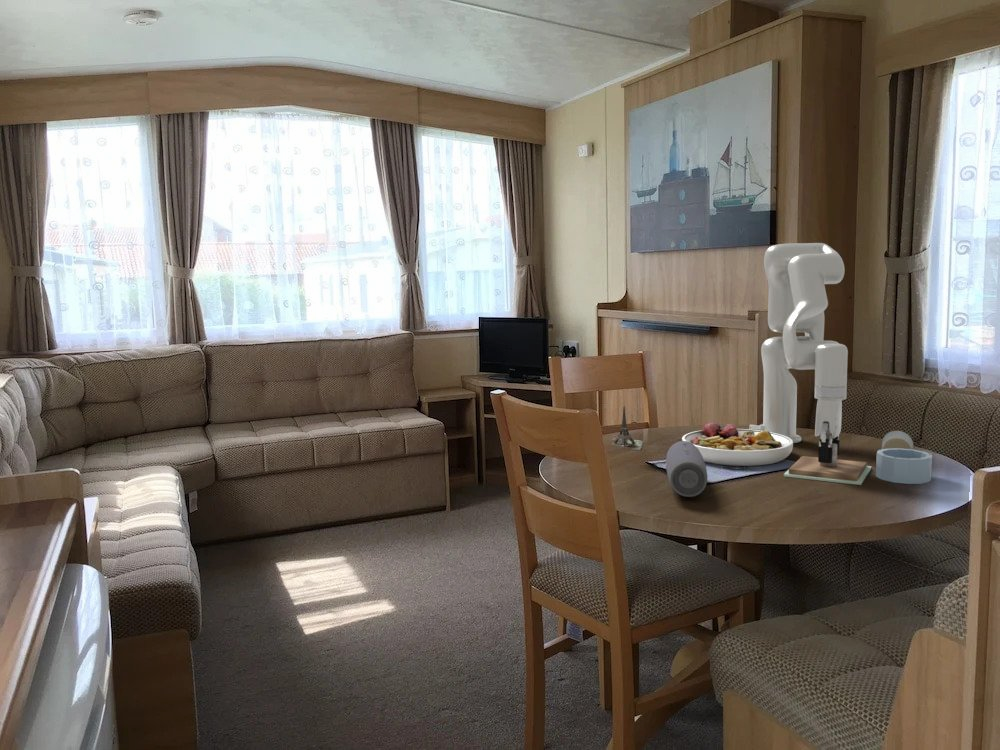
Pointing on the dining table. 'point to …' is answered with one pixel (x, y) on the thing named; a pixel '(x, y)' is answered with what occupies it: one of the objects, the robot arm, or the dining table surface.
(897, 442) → the ceramic mug
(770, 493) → the dining table surface
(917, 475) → the slate bowl
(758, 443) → the bowl
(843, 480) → the green mat
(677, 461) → the bluetooth speaker
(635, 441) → the eiffel tower figurine
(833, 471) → the walnut lid
